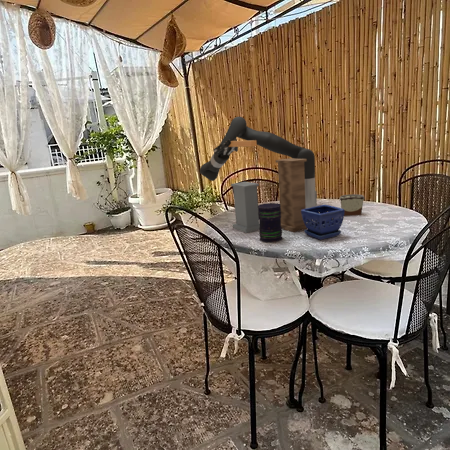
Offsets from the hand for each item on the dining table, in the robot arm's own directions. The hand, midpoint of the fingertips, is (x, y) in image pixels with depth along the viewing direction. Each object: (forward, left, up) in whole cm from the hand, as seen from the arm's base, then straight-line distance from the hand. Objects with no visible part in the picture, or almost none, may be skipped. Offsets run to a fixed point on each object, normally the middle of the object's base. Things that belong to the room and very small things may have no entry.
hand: (233, 140), depth 171 cm
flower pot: (-33, +30, -43) cm, 62 cm away
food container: (-58, 0, -42) cm, 72 cm away
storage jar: (-11, +27, -42) cm, 52 cm away
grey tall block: (-3, +7, -42) cm, 43 cm away
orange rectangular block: (-3, +6, -3) cm, 7 cm away
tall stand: (-24, +14, -42) cm, 50 cm away
